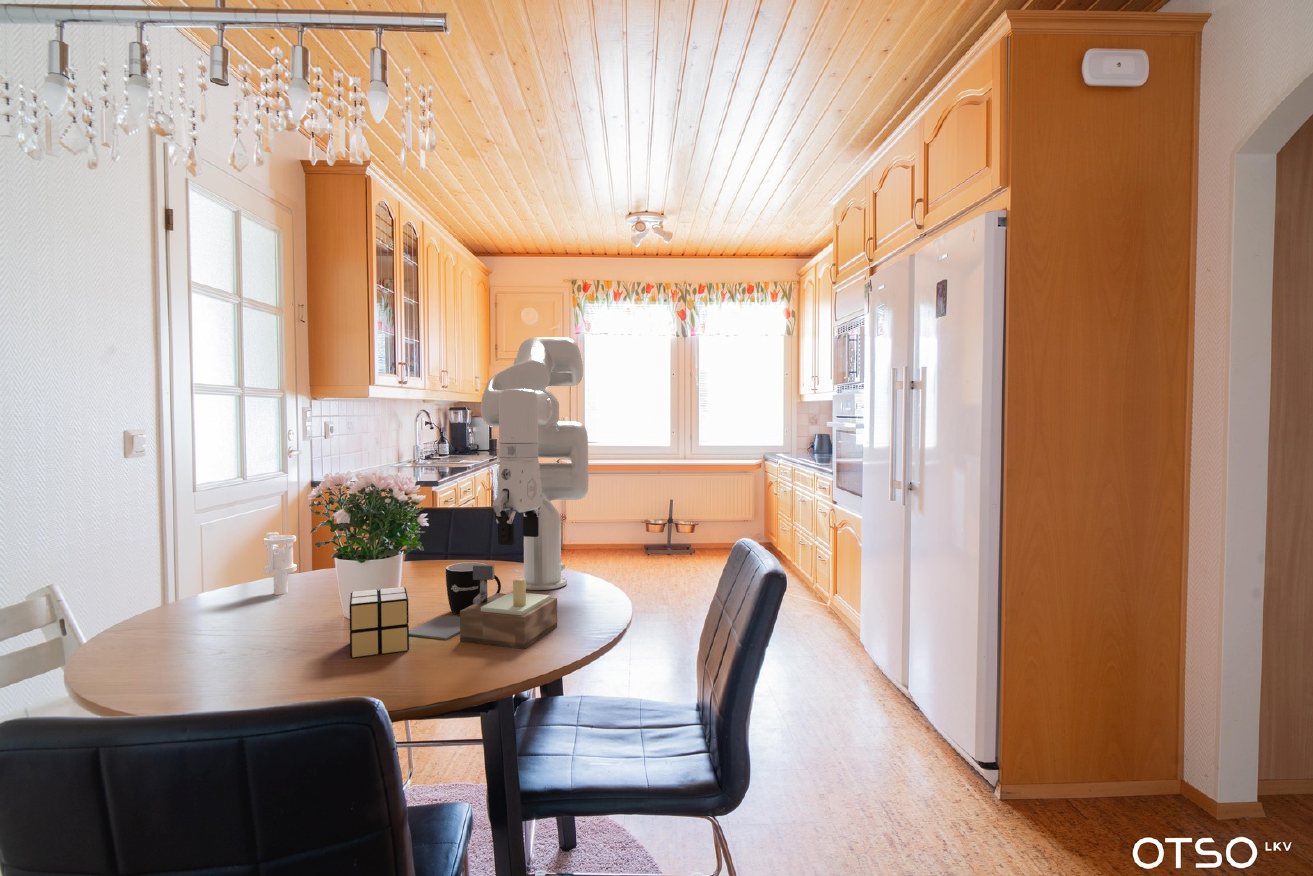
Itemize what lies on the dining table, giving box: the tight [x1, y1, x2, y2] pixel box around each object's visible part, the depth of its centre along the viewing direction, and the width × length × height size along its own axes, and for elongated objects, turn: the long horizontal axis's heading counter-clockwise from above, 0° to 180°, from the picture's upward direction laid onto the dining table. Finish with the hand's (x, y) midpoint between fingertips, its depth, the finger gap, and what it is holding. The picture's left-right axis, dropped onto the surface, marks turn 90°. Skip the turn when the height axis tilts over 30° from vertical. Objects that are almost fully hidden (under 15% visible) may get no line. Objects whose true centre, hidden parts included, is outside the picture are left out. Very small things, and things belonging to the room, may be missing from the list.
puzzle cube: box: [349, 586, 410, 659], centre depth 128 cm, size 10×10×10 cm
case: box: [459, 592, 558, 650], centre depth 135 cm, size 14×14×6 cm
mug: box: [445, 561, 502, 616], centre depth 152 cm, size 12×9×10 cm
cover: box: [481, 577, 552, 615], centre depth 135 cm, size 12×9×6 cm
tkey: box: [473, 564, 495, 603], centre depth 135 cm, size 4×6×7 cm
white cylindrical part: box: [263, 531, 298, 596], centre depth 166 cm, size 7×7×15 cm
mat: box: [409, 614, 460, 641], centre depth 139 cm, size 13×10×1 cm
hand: (518, 540), depth 131 cm, fingers open, 9 cm apart
